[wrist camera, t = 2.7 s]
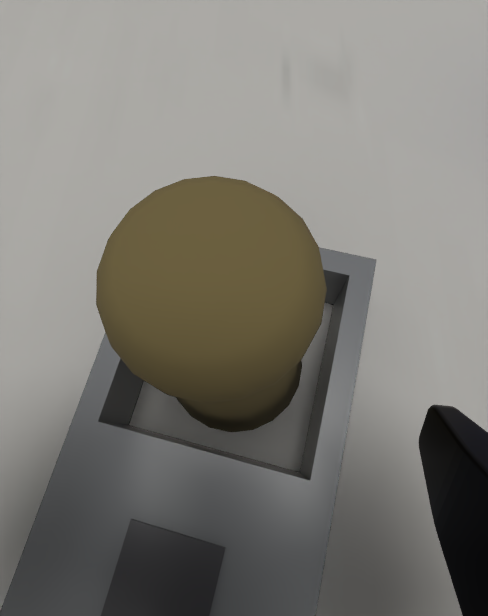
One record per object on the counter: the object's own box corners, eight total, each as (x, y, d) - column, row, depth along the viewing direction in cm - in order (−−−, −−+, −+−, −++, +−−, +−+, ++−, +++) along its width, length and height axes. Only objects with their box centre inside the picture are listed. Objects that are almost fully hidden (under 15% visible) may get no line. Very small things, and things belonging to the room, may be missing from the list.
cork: (184, 448, 17) (67, 460, 7) (157, 318, 19) (33, 167, 9) (320, 410, 17) (411, 365, 7) (280, 286, 19) (305, 102, 9)
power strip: (252, 855, 13) (249, 1032, 9) (-8, 754, 14) (-110, 874, 10) (355, 291, 19) (380, 252, 15) (168, 249, 20) (147, 203, 16)
